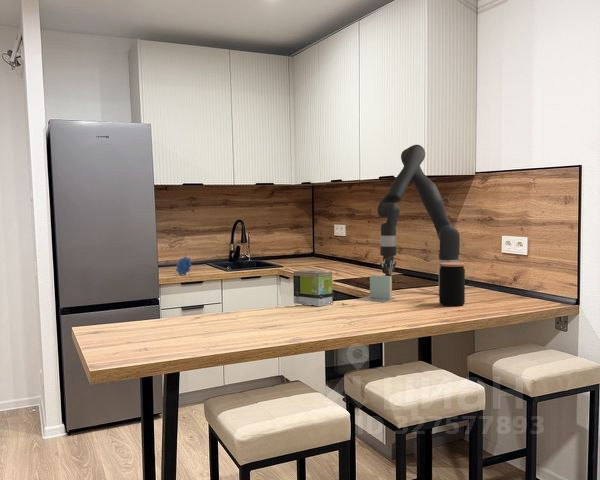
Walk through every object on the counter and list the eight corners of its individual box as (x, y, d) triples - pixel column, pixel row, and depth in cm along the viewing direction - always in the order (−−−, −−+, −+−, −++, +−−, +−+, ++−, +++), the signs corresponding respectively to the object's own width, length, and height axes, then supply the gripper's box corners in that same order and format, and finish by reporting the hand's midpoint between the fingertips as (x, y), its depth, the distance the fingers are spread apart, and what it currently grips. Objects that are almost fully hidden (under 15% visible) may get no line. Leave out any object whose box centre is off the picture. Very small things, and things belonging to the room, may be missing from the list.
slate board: (396, 301, 255) (396, 298, 255) (383, 305, 243) (383, 302, 243) (369, 299, 263) (369, 295, 263) (354, 303, 251) (354, 299, 251)
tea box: (333, 304, 249) (332, 271, 248) (318, 307, 242) (317, 272, 241) (307, 301, 259) (307, 268, 258) (292, 303, 252) (292, 270, 251)
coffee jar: (466, 303, 247) (466, 262, 246) (462, 307, 238) (462, 264, 237) (441, 302, 252) (441, 262, 251) (437, 305, 242) (437, 264, 241)
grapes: (187, 273, 380) (187, 256, 380) (193, 274, 376) (193, 256, 375) (172, 275, 372) (172, 257, 372) (178, 276, 367) (178, 257, 367)
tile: (391, 298, 255) (391, 276, 255) (390, 298, 253) (389, 276, 253) (371, 296, 261) (371, 274, 260) (369, 297, 259) (369, 275, 258)
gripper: (389, 246, 255) (389, 284, 256) (401, 244, 266) (401, 281, 267) (374, 245, 260) (374, 283, 260) (387, 244, 270) (387, 280, 271)
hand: (388, 282), depth 264 cm, fingers closed
